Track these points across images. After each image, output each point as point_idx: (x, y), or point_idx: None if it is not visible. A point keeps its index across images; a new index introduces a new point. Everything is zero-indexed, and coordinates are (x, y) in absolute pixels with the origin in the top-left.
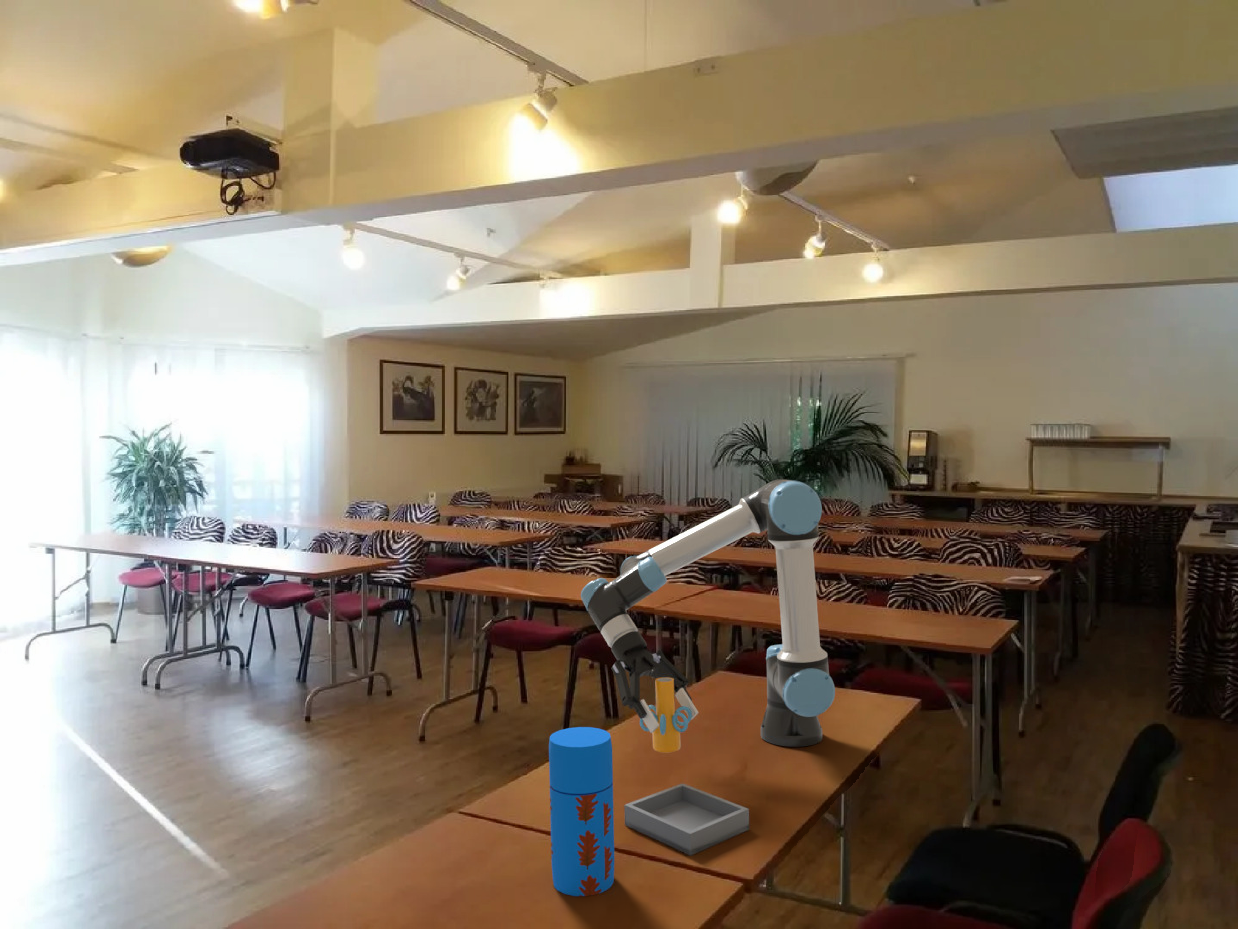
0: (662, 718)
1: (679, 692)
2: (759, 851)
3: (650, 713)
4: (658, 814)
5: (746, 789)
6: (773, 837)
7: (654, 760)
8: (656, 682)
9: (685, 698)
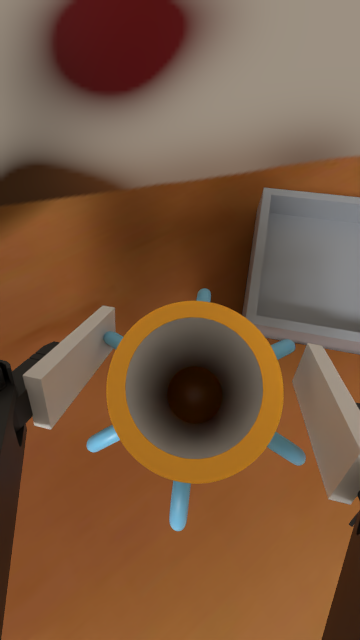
0: (286, 342)
1: (52, 390)
2: (301, 175)
3: (336, 381)
4: (328, 323)
5: (130, 280)
6: (255, 181)
7: (81, 520)
8: (274, 422)
9: (77, 351)
